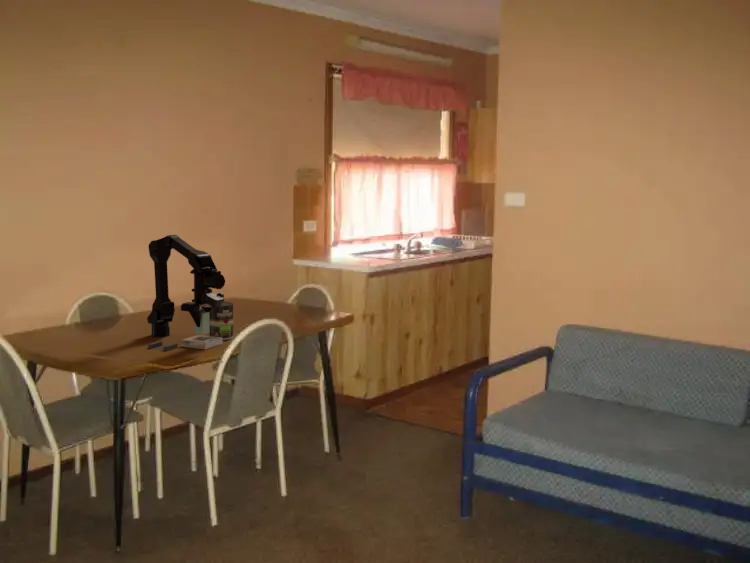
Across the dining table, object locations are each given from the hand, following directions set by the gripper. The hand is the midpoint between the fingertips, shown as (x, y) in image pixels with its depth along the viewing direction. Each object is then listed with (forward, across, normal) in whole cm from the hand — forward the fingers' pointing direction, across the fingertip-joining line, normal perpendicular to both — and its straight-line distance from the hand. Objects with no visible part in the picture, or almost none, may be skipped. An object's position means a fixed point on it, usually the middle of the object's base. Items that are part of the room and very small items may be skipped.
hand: (201, 326), depth 314 cm
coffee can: (+9, +18, +4) cm, 20 cm away
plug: (+3, 0, 0) cm, 3 cm away
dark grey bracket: (+8, -11, +10) cm, 17 cm away
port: (+8, 0, 0) cm, 8 cm away
